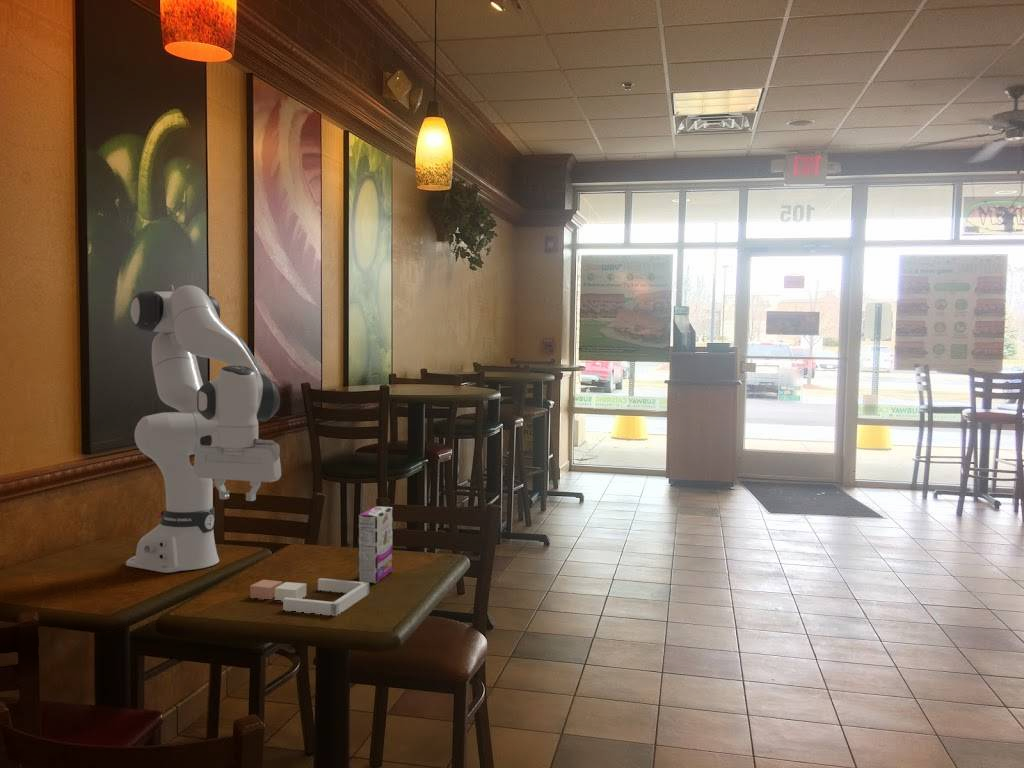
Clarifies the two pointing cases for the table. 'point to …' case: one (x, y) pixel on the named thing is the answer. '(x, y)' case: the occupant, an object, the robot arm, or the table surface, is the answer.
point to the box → (324, 607)
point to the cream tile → (290, 590)
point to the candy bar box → (375, 544)
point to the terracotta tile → (264, 589)
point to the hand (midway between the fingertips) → (237, 499)
